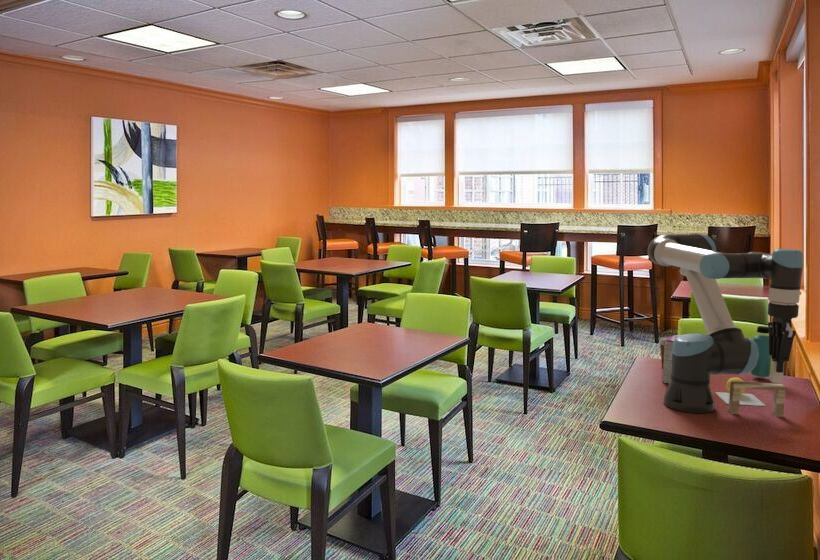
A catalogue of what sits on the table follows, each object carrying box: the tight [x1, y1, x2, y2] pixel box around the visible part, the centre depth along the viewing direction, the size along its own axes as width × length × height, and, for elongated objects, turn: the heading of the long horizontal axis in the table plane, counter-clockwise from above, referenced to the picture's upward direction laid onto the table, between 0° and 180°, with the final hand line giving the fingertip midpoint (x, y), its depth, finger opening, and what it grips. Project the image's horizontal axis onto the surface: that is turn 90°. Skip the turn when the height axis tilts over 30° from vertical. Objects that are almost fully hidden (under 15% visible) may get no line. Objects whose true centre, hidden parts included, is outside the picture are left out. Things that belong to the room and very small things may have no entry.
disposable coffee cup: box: [659, 336, 671, 369], centre depth 242 cm, size 10×10×12 cm
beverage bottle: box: [750, 325, 772, 378], centre depth 229 cm, size 6×7×20 cm
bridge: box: [728, 381, 787, 418], centre depth 192 cm, size 3×15×10 cm, turn 80°
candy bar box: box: [661, 334, 681, 385], centre depth 226 cm, size 11×5×16 cm, turn 138°
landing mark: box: [714, 391, 767, 407], centre depth 206 cm, size 12×12×1 cm
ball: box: [725, 376, 746, 394], centre depth 211 cm, size 6×6×6 cm
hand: (776, 382), depth 178 cm, fingers closed
